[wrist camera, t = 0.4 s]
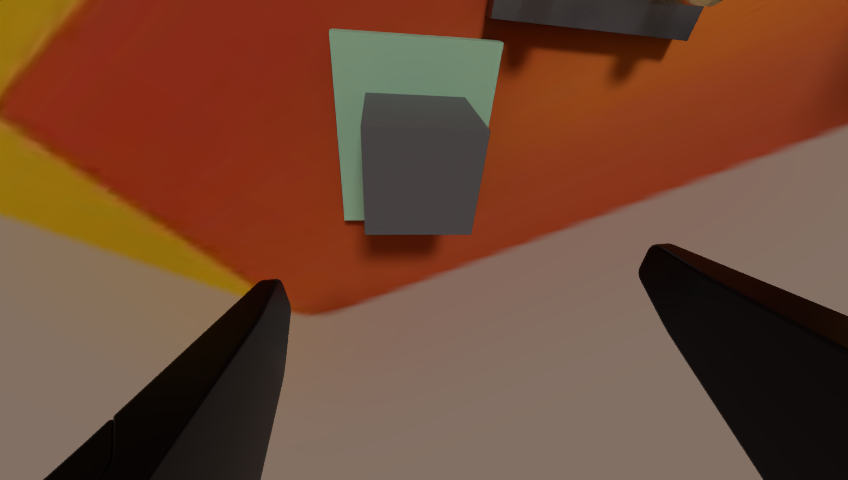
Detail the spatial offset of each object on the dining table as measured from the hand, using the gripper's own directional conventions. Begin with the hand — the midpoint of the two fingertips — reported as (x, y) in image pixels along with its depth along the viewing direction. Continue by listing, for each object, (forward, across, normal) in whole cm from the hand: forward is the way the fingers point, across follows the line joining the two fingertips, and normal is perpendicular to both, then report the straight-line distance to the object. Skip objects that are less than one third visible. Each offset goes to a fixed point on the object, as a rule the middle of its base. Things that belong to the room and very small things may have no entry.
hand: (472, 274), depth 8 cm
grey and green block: (+13, 0, +1) cm, 13 cm away
